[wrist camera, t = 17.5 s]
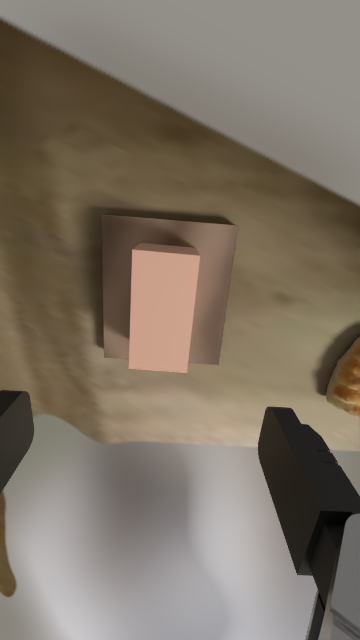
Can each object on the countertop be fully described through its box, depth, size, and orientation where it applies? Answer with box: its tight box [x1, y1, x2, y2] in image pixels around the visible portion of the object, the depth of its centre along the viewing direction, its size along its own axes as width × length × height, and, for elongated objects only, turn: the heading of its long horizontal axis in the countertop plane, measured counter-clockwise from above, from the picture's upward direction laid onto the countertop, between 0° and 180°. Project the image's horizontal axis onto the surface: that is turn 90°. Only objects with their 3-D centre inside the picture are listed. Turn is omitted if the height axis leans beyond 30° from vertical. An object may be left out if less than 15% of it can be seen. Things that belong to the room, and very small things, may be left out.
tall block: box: [129, 243, 200, 373], centre depth 25 cm, size 5×5×10 cm
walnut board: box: [101, 214, 238, 365], centre depth 28 cm, size 12×14×2 cm
